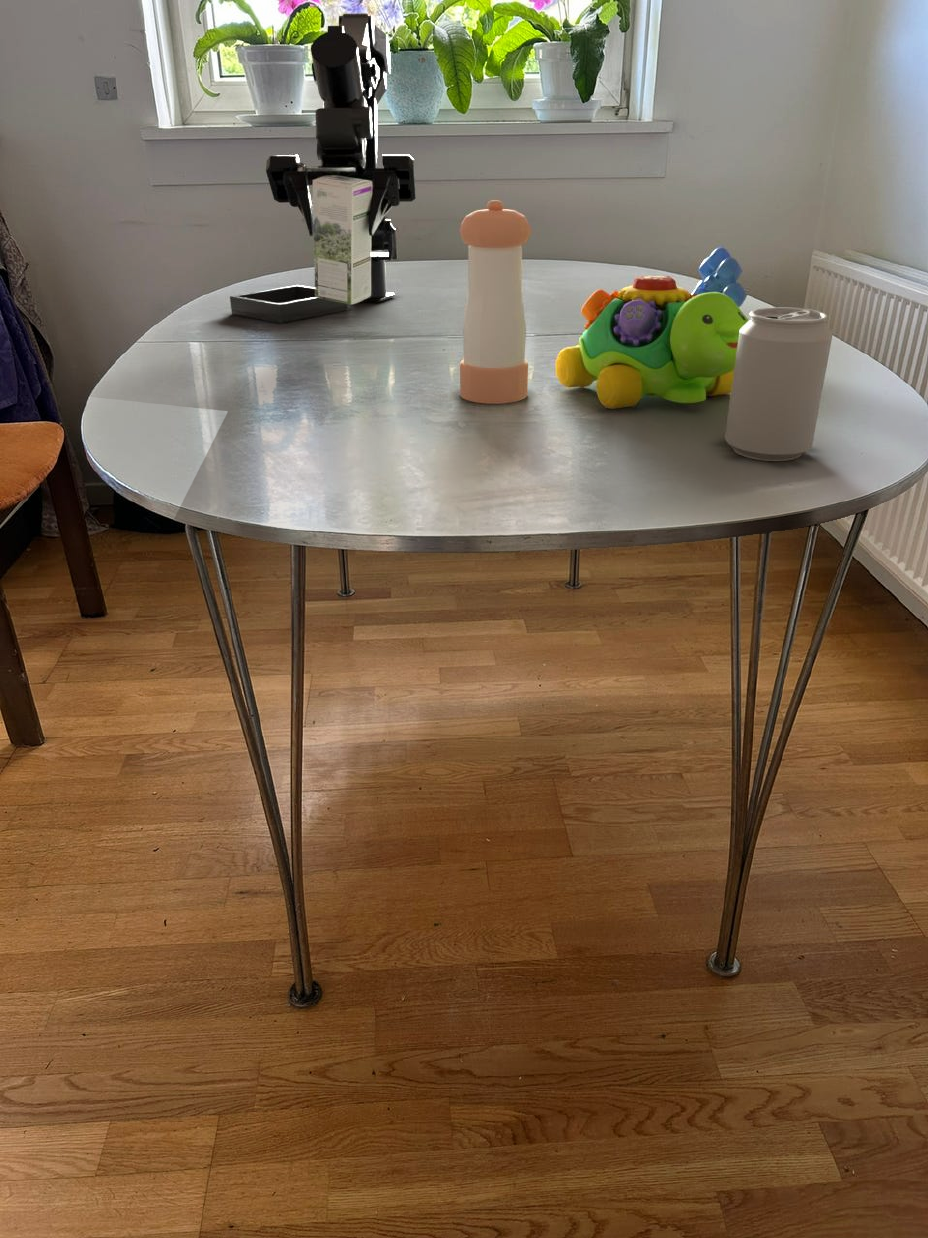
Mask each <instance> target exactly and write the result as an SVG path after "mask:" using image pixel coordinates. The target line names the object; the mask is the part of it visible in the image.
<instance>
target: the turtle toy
mask: <svg viewBox="0 0 928 1238" xmlns="http://www.w3.org/2000/svg"><path fill="white" fill-rule="evenodd" d="M580 312H581V314H582V316H583V317H584V318H585V320H587V322H586V323H585V324H584V329H585V330H584V331H583V332H582V335H581V336H579V338H578V342H579V343H578V344H576V345H575V346H568V347H564V348H562V349H561V350H560V352H559V353H558V354H557V356H556V359H555V374H556V375H555V376H556V378H557V381H558V382H559V383H560V384H561V385H562V386H564V387H565V388H577V387H578V388H579V387H580V388H585V387H589V386H591V385H592V384H593V383H594V382H595V381H596V394H597V398H598V400H599V402H600V404H601V405H603V406H604V408H607V409H611V410H612V409H621V408H622V409H623V408H630V407H634V406H637V404H638V403H639V402H640V400H641V399H643V398H644V397H645V396H646V397H654V398H655V397H656V398H661V399H664V400H666V401H669V402H673V403H679V404H694V403H695V404H696V403H701V402H704V401H706V399H707V397H713V396H714V397H715V396H721V395H728V394H731V390H732V383H733V375H734V368H735V361H736V353H737V346H738V338H739V331H740V329H741V328H742V327H743V326H744V325H745V324H746V323H747V322H749V321H750V319H749V318H748V317H747V315H745V313H744V312H743V311H742V310H741V308H740V307H738V306H737V304H736V303H735V302H734V301H733V300H732V299H731V298H730V297H728V296H727V295H725V294H722V293H718V292H709V293H703V294H699V295H696V294H693V295H692V294H691V293H690V292H689V291H688V290H687V289H685V288H683V287H681V286H677V282H676V280H675V279H674V278H672V277H670V275H668V276H666V275H665V276H664V275H646V276H644V275H641V276H640V277H635V278H634V280H633V283H632V285H629V286H626V287H623V288H621V289H620V290H619V291H618V290H614V291H612V292H611V293H609V292H607V291H605V290H604V289H602V288H599V289H596V290H595V291H594V292H593V293H592V294H591V295H590V296H589V297H588V298H587V300H586V301H585V302H584V304H583V305H582V306H581V309H580Z"/></svg>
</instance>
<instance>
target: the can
mask: <svg viewBox="0 0 928 1238" xmlns="http://www.w3.org/2000/svg"><path fill="white" fill-rule="evenodd" d="M748 315H749V316H750V319H749V322H747V323H746V324H745V325H744V326H743V327H742V328H741V329H740V331H739V338H738V346H737V353H736V361H735V368H734V375H733V383H732V390H731V393H730V399H729V404H728V413H727V421H726V427H725V435H724V439H725V441H726V443H727V444H728V445H729V446H730V447H731V448H732V450H733V452H735V453H736V454H737V455H739V456H742V457H745V458H748V459H752V460H756V461H764V462H788V461H793V460H796V459H798V458H800V457H801V456H802V454H804V453H805V452H807V451H809V450H810V449H812V447H813V444H814V437H815V433H816V427H817V421H818V417H819V411H820V406H821V399H822V395H823V389H824V383H825V378H826V374H827V373H826V372H827V369H828V362H829V356H830V351H831V346H832V340H833V333H832V331H831V330H830V328H829V327H828V326H827V324H826V321H828V318H829V316H828V315H827V314H826V313H824V312H823V311H819V310H815V309H809V308H802V307H787V306H784V307H783V306H771V307H760V308H755V309H753V310H751V311H750V312H749V314H748Z"/></svg>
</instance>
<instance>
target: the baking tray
mask: <svg viewBox="0 0 928 1238" xmlns="http://www.w3.org/2000/svg"><path fill="white" fill-rule="evenodd" d="M229 302H230V311H231V315H235V316H241V317H247V318H252V319H257V320H262V321H268V322H273V323H278V324H283V323H289V322H293V321H294V322H295V321H300V320H303V319H308V318H314V317H317V316H318V317H319V316H323V315H328V314H335V313H337V312H338V313H339V312H342V311H343V312H344V311H348V310H349V306H348V305H349V304H345V303H340V302H335V301H330V300H325V299H321V298H316V297H315V286H307V285H299V284H296V285H290V286H289V285H288V286H283V287H277V288H271V289H265V290H259V291H253V292H248V293H243V294H235V295H230V296H229Z"/></svg>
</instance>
